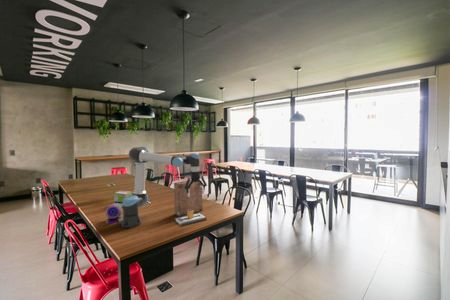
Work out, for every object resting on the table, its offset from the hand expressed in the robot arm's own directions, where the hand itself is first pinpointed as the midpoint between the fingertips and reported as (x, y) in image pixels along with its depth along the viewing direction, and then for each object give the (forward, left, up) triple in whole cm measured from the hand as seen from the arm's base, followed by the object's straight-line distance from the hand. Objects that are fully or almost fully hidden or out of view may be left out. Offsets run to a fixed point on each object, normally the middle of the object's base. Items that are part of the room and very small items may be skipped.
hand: (196, 195), depth 186 cm
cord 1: (-12, -4, -22) cm, 25 cm away
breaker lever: (-4, -4, -20) cm, 20 cm away
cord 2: (+4, -4, -22) cm, 23 cm away
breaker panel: (-4, -4, -22) cm, 23 cm away
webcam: (-41, -60, -22) cm, 76 cm away
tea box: (-85, -47, -22) cm, 100 cm away
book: (-23, +3, -22) cm, 32 cm away
